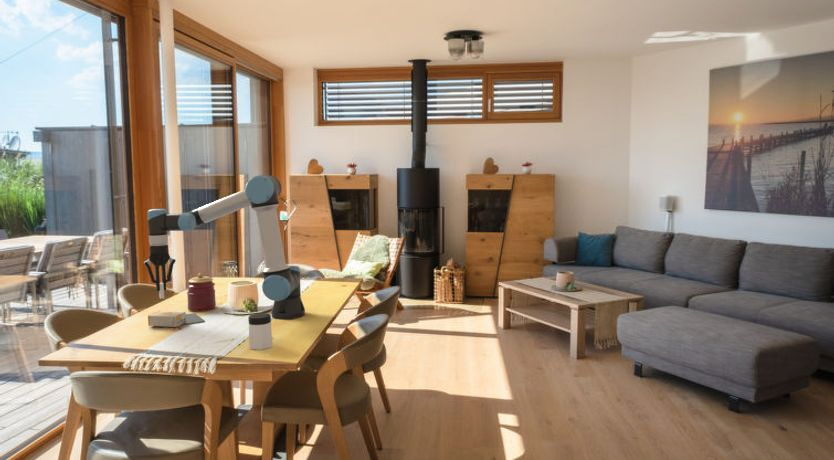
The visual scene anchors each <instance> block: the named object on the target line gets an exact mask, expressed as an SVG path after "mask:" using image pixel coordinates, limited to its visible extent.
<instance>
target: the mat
mask: <svg viewBox="0 0 834 460" xmlns="http://www.w3.org/2000/svg"><path fill="white" fill-rule="evenodd" d="M205 322H206V321H205V319H204V318H202V317H200V315H198V314H197V313H196V312H193V313H186V322H185V323H183V324H181V325H179V326H178V327H180V326H186V325H194V324H201V323H205ZM161 327H163V328H164V329H166V328H168V329H169V327H168V326H161Z"/></svg>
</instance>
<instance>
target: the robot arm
mask: <svg viewBox="0 0 834 460" xmlns="http://www.w3.org/2000/svg"><path fill="white" fill-rule="evenodd" d="M282 189H283V188H282V184H281V181H280V180H279V179H278V178H277V177H276V176H273V175H272V174H258V175H254V176H253V177H251V178H249V180H248V181H247V182H246V184H245V188H244V189H242V190H239V191H238V192H235V193H232V194H230V195H228V196H226V197H222V198H220V199H218V200H215V201H213V202H210V203H208V204H205V205H203V206H201V207H198V208H196V209H192V210H190V211H186V212H178V213H167V210H166V209H165V208H151V209H149V210H147V218H146V220H147V226H148V227H147V228H148V229H147V230H148V244H149V246H148V247H149V248H148V249H149V257H148V259H147V260H145V261H143V265H144V266H145V267H146V270H147V271H148V276H149V279H150V281H151V283H153V284H155V287H156V289H155V290H156V291H157V292H158V295H159V299H162V300H163V299H165V291H166V290H167V283H168V282H170V281H171V279H172V273H173V269H174V265H175V263H176V259H175V258H172V257H171V256H170V253H169V251H170V250H169V245H168V243H169V238H168V237H169V235H168V232H171V231H174V232H175V231H176V232H178V231H180V232H189V231H193V230H194V229H196V228H199V227H201V226H202V225H205V224H207V223H210V222H212V221H215V220H216V219H220V218H222V217H225V216H227V215H230V214H232V213H235V212H237V211H239V210H242V209H245V208H248V207H249V206H251V207H250V208H251V209H252V210H253V211H254V212H255V215H256V219H257V220H256V222H257V225H258V231H259V232H258V233H259V237H260V243H261V249H262V255H263V261H264V269H263V270H262V275H263V282H262V286H261V290H262V292H263V295H264V296H265V297H266V298H267V299H269V300H270V301H273V304H272V308H271V314H270V315H271V318H274V319H279V320H289V319H296V318H297V319H298V318H301V317H304V316H305V315H306V309H305V306H304V303H303V300H302V297H301V290H302V289H301V271H300V270H301V269H300V267H299V265H289V264H287V263H286V257H285V253H284V246H283V240H282V236H281V234H282V233H281V229H280V223H279V217H278V211H277V208H278V207H279V206H280V203H279V197H280V195H281V194H282ZM168 262H169V264H168V270H166V265H167V263H168ZM151 264H153V266H154V273H153V270H152V267H151ZM160 270H161V279H160ZM166 271H167V273H166ZM154 274H155V275H154ZM154 277H155V278H154ZM160 280H161V281H160Z"/></svg>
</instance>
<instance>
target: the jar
mask: <svg viewBox="0 0 834 460" xmlns="http://www.w3.org/2000/svg"><path fill="white" fill-rule="evenodd" d="M272 334H273V333H272V314H270V313H268V312H266V313H265V312H259V313H258V312H257V313H253V314H249V316H248V336H249V337H248V338H249V347H250V350H257V351H258V350H259V351H262V350H266V349H270V348H273V335H272Z"/></svg>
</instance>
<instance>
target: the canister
mask: <svg viewBox="0 0 834 460" xmlns="http://www.w3.org/2000/svg"><path fill="white" fill-rule="evenodd" d="M213 281H214V279H213V278H212V277H210V276H206V275H205V276H204V274H203V272H198V274H197V276H193V277H191V278H190V279H189V280H187V282H188V283H187V285H186V288H187V292H186V294H187V309H188V311H189V312H207V311H212V310H215V309H216V307H217V302H216V289H215V285H216V283H215V282H213Z"/></svg>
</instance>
